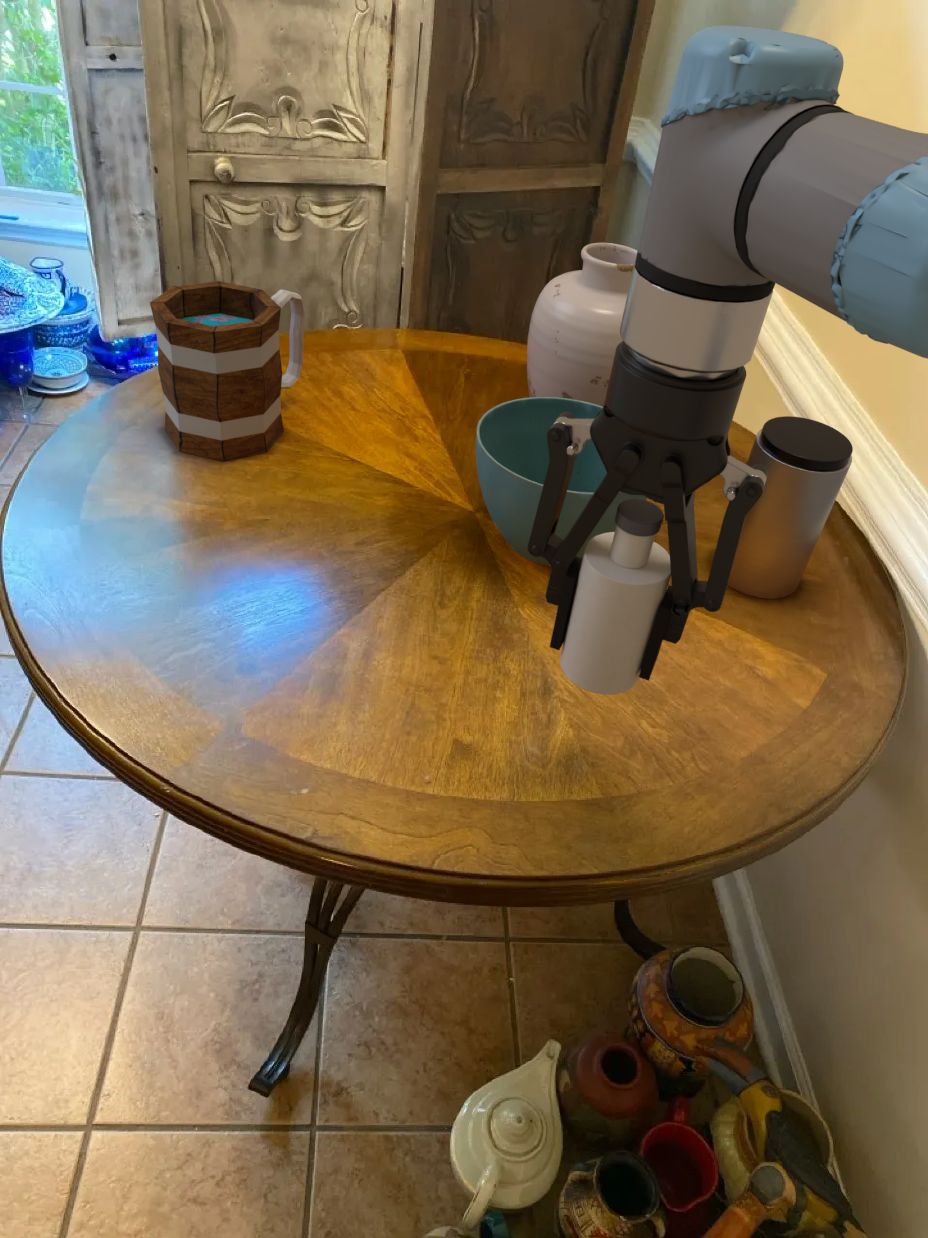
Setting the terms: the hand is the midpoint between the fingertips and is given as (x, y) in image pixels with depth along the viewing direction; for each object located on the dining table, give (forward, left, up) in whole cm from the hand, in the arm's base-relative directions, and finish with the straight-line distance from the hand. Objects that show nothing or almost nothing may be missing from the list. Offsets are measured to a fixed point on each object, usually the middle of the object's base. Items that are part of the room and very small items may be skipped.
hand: (603, 652), depth 67 cm
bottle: (0, 0, -1) cm, 1 cm away
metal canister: (+8, -34, -12) cm, 37 cm away
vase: (+38, -36, -12) cm, 54 cm away
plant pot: (+23, -18, -12) cm, 32 cm away
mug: (+60, -2, -12) cm, 61 cm away
